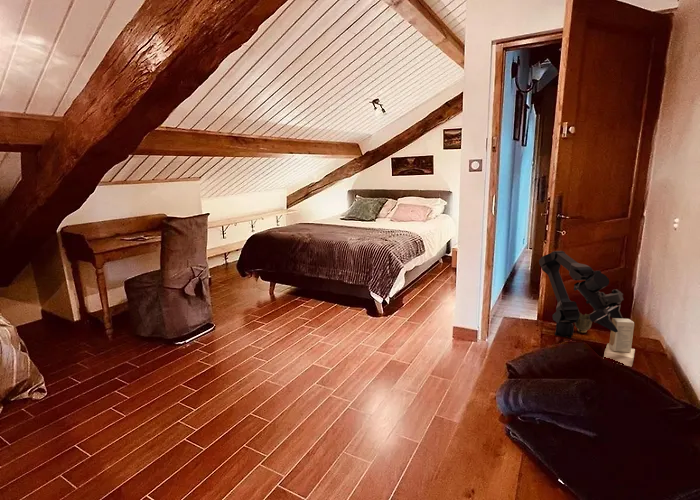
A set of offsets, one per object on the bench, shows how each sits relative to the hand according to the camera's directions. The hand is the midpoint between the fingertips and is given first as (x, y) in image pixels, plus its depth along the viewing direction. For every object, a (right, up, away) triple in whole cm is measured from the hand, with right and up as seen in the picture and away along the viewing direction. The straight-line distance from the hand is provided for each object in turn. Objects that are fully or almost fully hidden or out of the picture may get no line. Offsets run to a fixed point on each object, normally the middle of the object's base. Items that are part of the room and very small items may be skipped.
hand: (620, 328), depth 150 cm
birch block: (+1, -13, +2) cm, 13 cm away
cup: (+1, -7, +26) cm, 27 cm away
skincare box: (0, -9, +2) cm, 9 cm away
